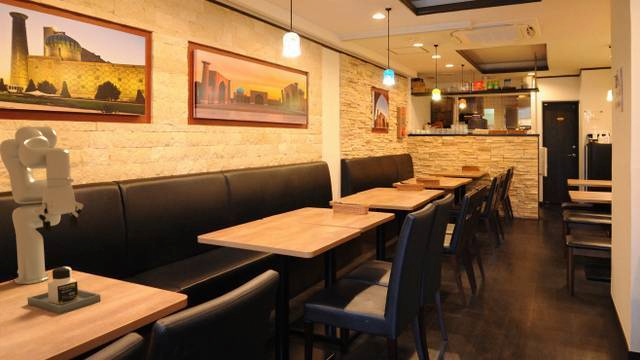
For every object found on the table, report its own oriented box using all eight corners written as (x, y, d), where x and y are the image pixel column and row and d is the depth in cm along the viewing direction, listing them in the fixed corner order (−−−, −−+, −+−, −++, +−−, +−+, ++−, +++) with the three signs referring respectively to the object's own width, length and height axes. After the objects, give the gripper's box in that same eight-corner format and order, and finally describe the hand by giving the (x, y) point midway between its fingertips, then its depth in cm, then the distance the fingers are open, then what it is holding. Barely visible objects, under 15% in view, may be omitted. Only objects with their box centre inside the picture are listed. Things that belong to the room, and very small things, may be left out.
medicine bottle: (58, 305, 166) (56, 271, 165) (48, 301, 170) (46, 268, 169) (78, 299, 172) (76, 267, 171) (68, 296, 176) (66, 264, 175)
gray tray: (27, 304, 170) (27, 297, 169) (68, 292, 182) (68, 286, 182) (60, 314, 159) (59, 307, 159) (100, 301, 172) (100, 294, 172)
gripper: (75, 180, 181) (77, 224, 183) (28, 184, 166) (30, 232, 168) (87, 181, 177) (89, 226, 179) (39, 186, 162) (42, 235, 164)
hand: (60, 229), depth 173 cm, fingers open, 9 cm apart
